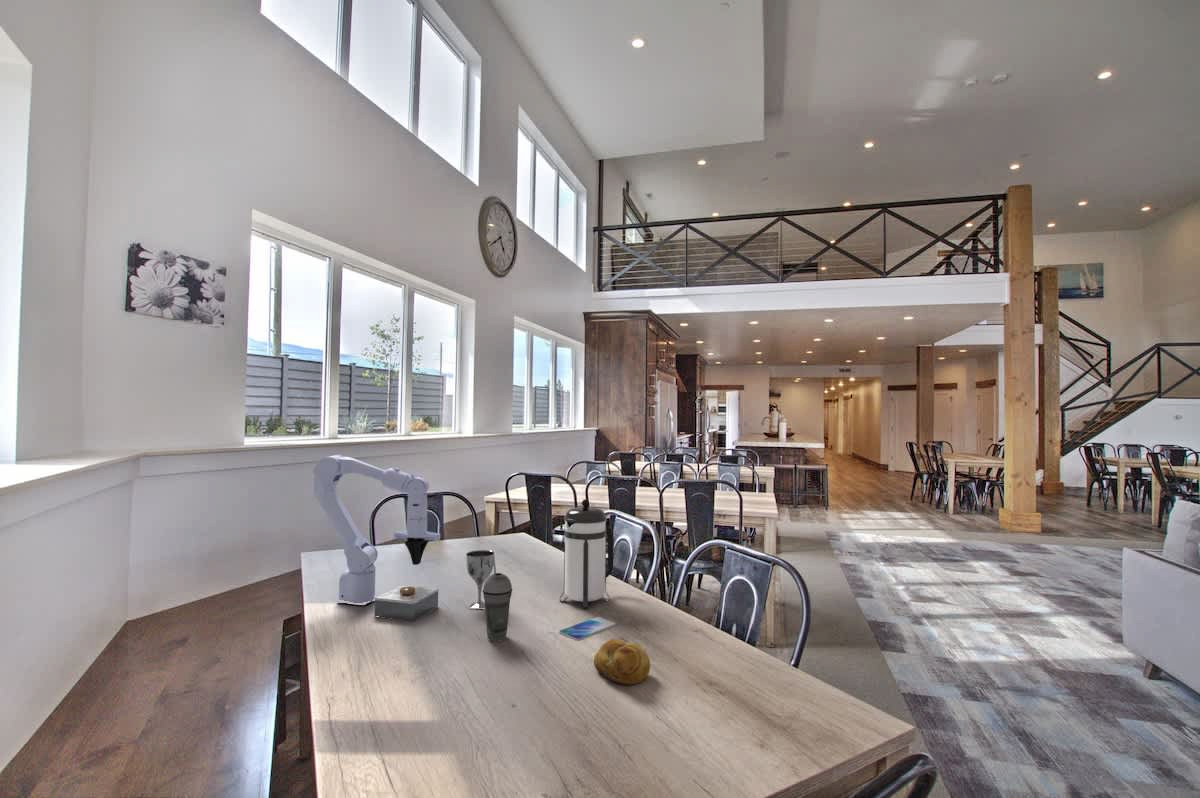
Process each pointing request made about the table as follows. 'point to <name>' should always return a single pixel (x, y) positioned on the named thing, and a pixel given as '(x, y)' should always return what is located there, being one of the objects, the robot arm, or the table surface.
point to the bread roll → (622, 662)
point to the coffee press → (586, 554)
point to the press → (406, 603)
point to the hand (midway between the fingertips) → (416, 563)
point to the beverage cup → (497, 604)
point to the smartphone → (587, 628)
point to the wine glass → (479, 570)
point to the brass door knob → (407, 590)
